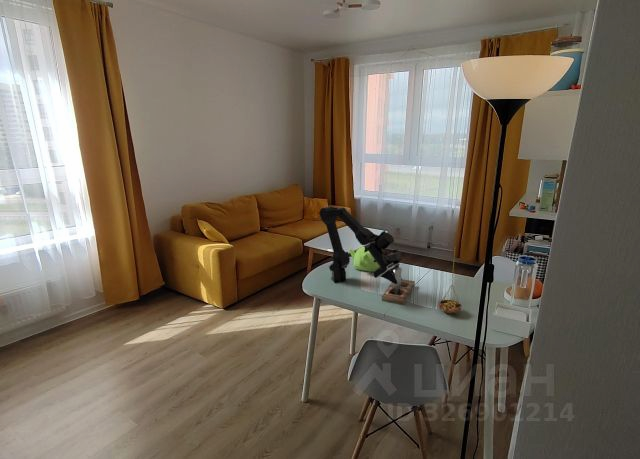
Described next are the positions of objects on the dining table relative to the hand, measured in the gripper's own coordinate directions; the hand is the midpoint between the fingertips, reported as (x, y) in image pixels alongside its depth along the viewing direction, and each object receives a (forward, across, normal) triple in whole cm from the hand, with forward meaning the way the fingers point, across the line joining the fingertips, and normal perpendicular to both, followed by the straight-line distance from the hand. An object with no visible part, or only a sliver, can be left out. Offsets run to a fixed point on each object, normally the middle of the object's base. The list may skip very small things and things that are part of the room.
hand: (399, 282), depth 156 cm
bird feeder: (+22, +1, -11) cm, 25 cm away
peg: (+4, 0, +6) cm, 7 cm away
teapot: (-17, +23, +29) cm, 41 cm away
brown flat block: (+4, +5, +7) cm, 10 cm away
